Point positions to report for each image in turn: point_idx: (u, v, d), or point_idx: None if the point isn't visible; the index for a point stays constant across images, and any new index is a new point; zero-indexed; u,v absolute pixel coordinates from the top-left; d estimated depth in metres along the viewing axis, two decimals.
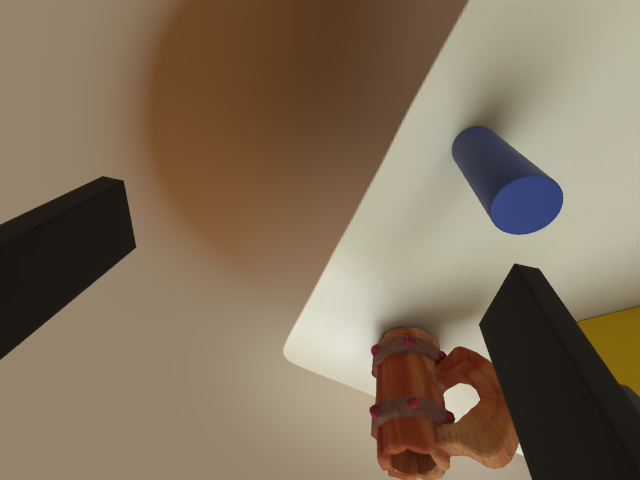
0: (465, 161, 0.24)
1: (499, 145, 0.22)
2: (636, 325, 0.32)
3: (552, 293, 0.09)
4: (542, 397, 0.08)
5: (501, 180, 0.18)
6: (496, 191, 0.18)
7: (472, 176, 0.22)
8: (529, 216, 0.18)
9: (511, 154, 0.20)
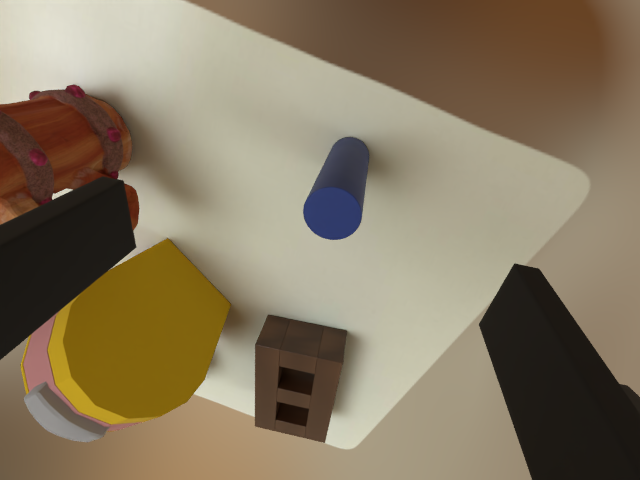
0: (346, 152, 0.25)
1: None
2: (216, 308, 0.40)
3: (552, 293, 0.09)
4: (542, 397, 0.08)
5: (352, 189, 0.19)
6: (344, 188, 0.19)
7: (340, 163, 0.23)
8: (323, 219, 0.20)
9: (364, 190, 0.23)
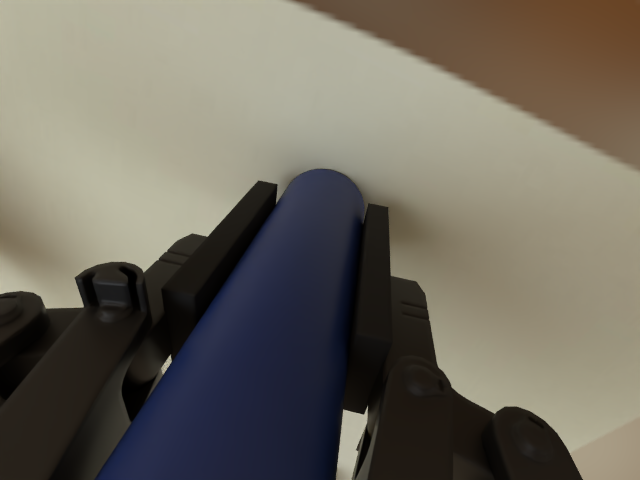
0: (304, 224, 0.09)
1: None
2: None
3: (385, 221, 0.11)
4: None
5: None
6: None
7: (271, 281, 0.07)
8: None
9: (346, 371, 0.07)
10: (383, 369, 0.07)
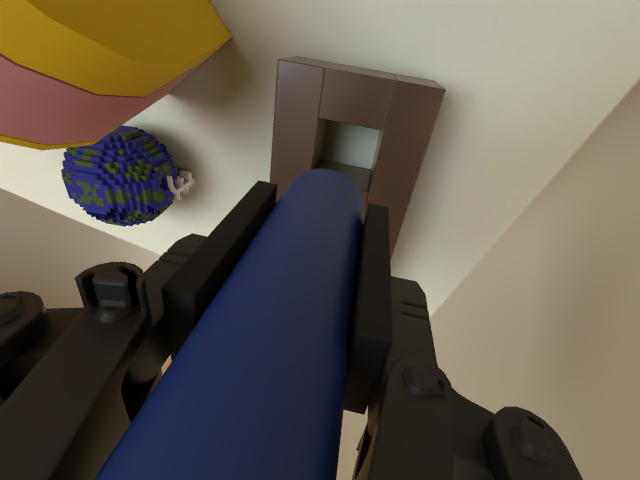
0: (304, 224, 0.09)
1: None
2: (206, 15, 0.22)
3: (385, 221, 0.11)
4: None
5: None
6: None
7: (271, 281, 0.07)
8: None
9: None
10: (383, 369, 0.07)
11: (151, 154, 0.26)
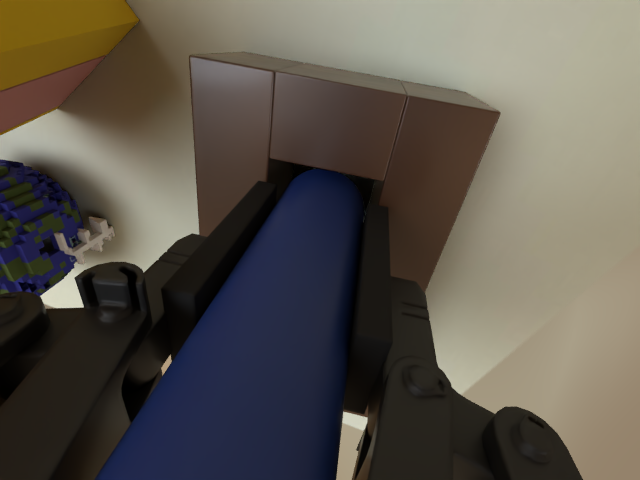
0: (304, 224, 0.09)
1: None
2: None
3: (385, 221, 0.11)
4: None
5: None
6: None
7: (271, 281, 0.07)
8: None
9: None
10: (383, 369, 0.07)
11: (21, 204, 0.17)
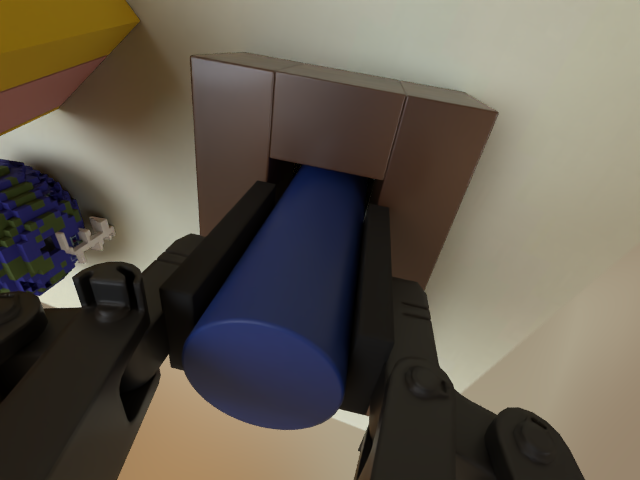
0: (322, 183, 0.12)
1: None
2: None
3: (386, 221, 0.11)
4: None
5: (320, 317, 0.07)
6: (292, 324, 0.06)
7: (302, 214, 0.10)
8: (237, 389, 0.07)
9: None
10: (385, 370, 0.07)
11: (22, 203, 0.17)
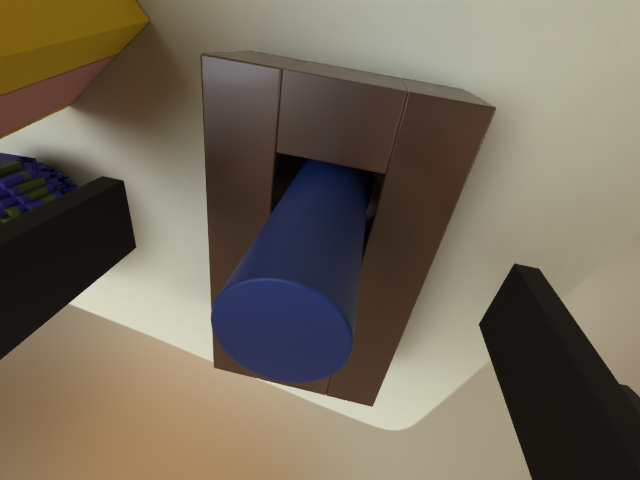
0: (329, 170, 0.13)
1: (364, 224, 0.13)
2: None
3: (552, 293, 0.09)
4: (542, 397, 0.08)
5: (332, 278, 0.08)
6: (309, 282, 0.07)
7: (313, 196, 0.11)
8: (258, 343, 0.08)
9: (361, 256, 0.11)
10: None
11: (35, 198, 0.17)
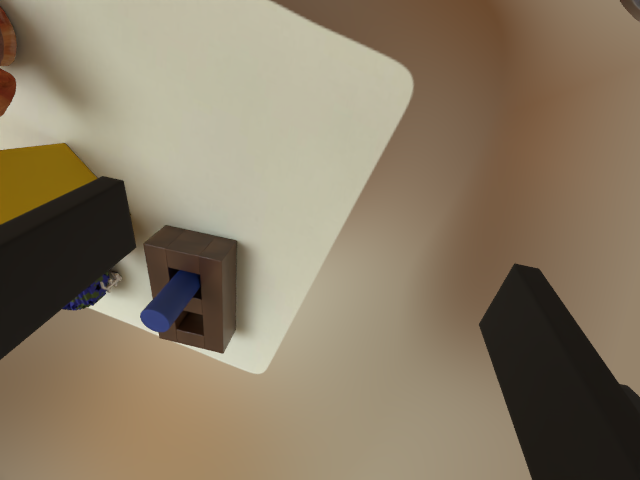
0: (184, 272, 0.43)
1: (193, 289, 0.42)
2: None
3: (552, 293, 0.09)
4: (542, 396, 0.08)
5: (164, 309, 0.37)
6: (157, 310, 0.37)
7: (172, 285, 0.40)
8: (151, 323, 0.38)
9: (185, 300, 0.40)
10: None
11: None
